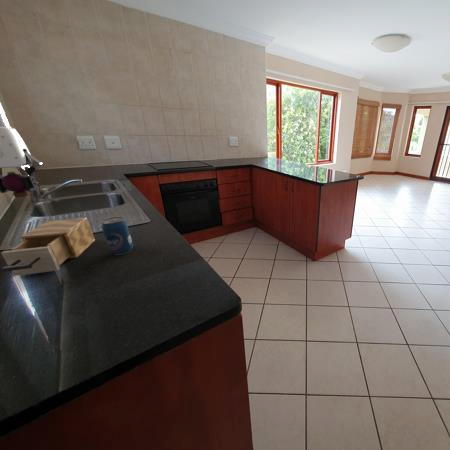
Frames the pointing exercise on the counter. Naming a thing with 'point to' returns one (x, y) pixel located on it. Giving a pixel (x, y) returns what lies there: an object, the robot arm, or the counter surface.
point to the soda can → (117, 235)
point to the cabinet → (66, 233)
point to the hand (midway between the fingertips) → (19, 190)
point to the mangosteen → (15, 184)
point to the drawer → (37, 255)
